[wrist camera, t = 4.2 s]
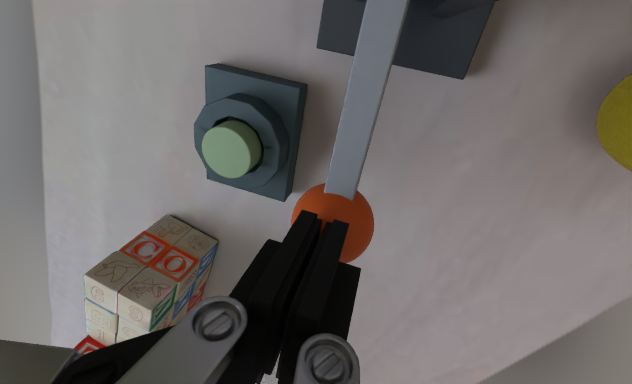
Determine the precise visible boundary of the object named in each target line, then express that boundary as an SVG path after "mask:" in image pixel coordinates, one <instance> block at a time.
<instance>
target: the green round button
mask: <svg viewBox="0 0 632 384" xmlns="http://www.w3.org/2000/svg"><path fill="white" fill-rule="evenodd" d="M261 151H262V148H261V143H260V140H259V138H258V136H257V134H256V133H255V131H254V130H253V129H252V128H251V127H250V126H248V125H247V124H245V123H243V122H240V121H236V120H230V121H226V122H224V123H222V124H220V125H218V126H216V127H214V128H212V129H210V130H209V131H208V132H207V133H206V134H205V136H204V138H203V141H202V152H203V156H204V158H205V160H206V162H207V164H208V165H209V166H210V167H211V169H213V170H214V171H215V172H216V173H218V174H219V175H221V176H223V177H227V178H238V177H241V176H243V175H244V174H246V173H247V172H248V171H249V170H250V169H251V168H253V167H254V166H255V165H256V164H257V163H258V161H259V159H260V157H261Z"/></svg>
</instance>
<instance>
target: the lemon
mask: <svg viewBox="0 0 632 384" xmlns="http://www.w3.org/2000/svg"><path fill="white" fill-rule="evenodd" d="M596 126H597V134H598V138H599V140H600V142H601V144H602V146H603V147H604V149H605V151H606V152H607V153H608V154H609V155H610V156H611V157H612V158H613V159H615V160H616V161H617V162H618V163H619V164H620V165H622V166H623V167H625V168H626V169H628V170H630V171H632V74H631V75H629V76H627V77H626V78H625V79H623V80H622V81H621V82H620V83H619V84H618V85H616V86H615V87H614V88H613V89H612V91H611V92H610V93H609V94H608V95H607V97H606V98H605V99H604V101H603V103H602V105H601V107H600V109H599V111H598V116H597V121H596Z"/></svg>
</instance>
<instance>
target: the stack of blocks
mask: <svg viewBox="0 0 632 384" xmlns="http://www.w3.org/2000/svg"><path fill="white" fill-rule="evenodd" d="M217 245H218V241H216V240H214V239H213V238H211V237H209V236H207V235H205V234H203V233H201V232H199V231H198V230H196V229H193V228H192V227H190V226H189V225H187V224H185V223H183V222H181V221H179V220H177V219H175V218H173V217H171V216H169V215H166V216H164V217H163V218H161V219H160V220H159V221H157V222H156V223H155V224H153V225H152V226H151V227H150V228H148V229H147V230H146V231H143V232H142V233H141V234H139V235H138V236H137V237H135V238H134V239H133V240H131V241H130V242H129V243H127V244H126V245H125V246H123V247H122V248H121V249H120V250H119V251H115V252H113V253H112V254H111V255H109V256H108V257H107V258H105V259H104V260H103V261H101V262H100V263H99V264H97V265H96V266H95V267H93V268H92V269H91V270H89V271H88V272H87V273H85V274H84V285H85V296H86V297H85V311H86V317H87V318H86V326H87V333H88V334H89V335H88V336H87V337H85V338H84V339H83V340H82V341H81V342H80V343H79V344H78V345H77V346H76V347H75V348H74V349H77V350H78V353H80V354H87V353H89V352H92V351H94V350H96V349H100V348H103V347H106V346H109V345H112V344H116V343H119V342H122V341H125V340H128V339H132V338H135V337H138V336H141V335H144V334H148V333H151V332H154V331H157V330H160V329H163V328H167V327H170V326H173V325H176V324H177V323H178V322H179V321H180V320H181V319H182V318H183V317H184V316H185V315H186V314H187V313H188V312H189V311H190V310H191V309H192V308H193V307H194V306H195V305H197V304H198V303H199V302H200V301H201V297H202V292H203V289H204V286H205V283H206V280H207V278H208V276H209V272H210V269H211V266H212V262H213V258H214V255H215V251H216V248H217Z"/></svg>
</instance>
